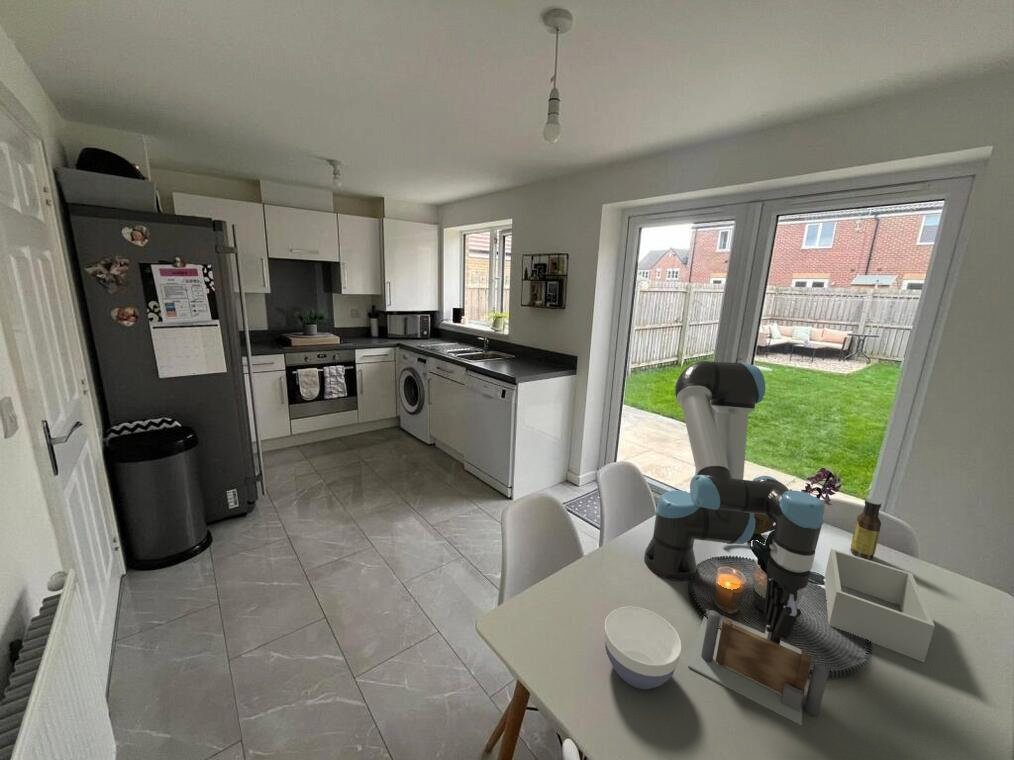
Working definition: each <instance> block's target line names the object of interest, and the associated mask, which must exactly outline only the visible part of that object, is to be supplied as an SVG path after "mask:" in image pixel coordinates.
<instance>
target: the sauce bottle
mask: <svg viewBox="0 0 1014 760" xmlns="http://www.w3.org/2000/svg"><path fill="white" fill-rule="evenodd" d="M881 508H882V503H881V502H880V501H878V500H876V499H873V498H865V500H864V507H863V510H862V512H861V513H860V514H859V515H858V516H857V518H856V521H855V525H854V530H853V535H852V538H851V544H850V549H849V551H850V552H851V553H852V555H853V556H857V557H860V558H863V559H867V560H870V561H872V560H873V559H874V555H875V554H876V551H877V545H878V542H879V536H880V532H881V526H882V523H881V519H880V518H879V514H880V513H879V512H880V509H881Z"/></svg>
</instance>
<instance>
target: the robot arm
mask: <svg viewBox="0 0 1014 760" xmlns="http://www.w3.org/2000/svg"><path fill="white" fill-rule="evenodd" d="M674 394H675V400H676V402H677V404H678V405H679V406H680V407H681V409H682V414H683V419H684V422H685V425H686V426H685V428H686V432H687V435H688V440H689V441H688V442H689V444H690V449H691V452H692V453H691V454H692V457H693V458H692V459H693V461H694V466H695V467H694V468H695V472H696V475H693V476H692V478H691V479H690V483H689V489H690V490H689V492H688V491H685V490H676V489H675V490H669V491H666V492H664V493H662V494H661V495H660V496H659V498H658V501H657V504H656V508H655V519H654V528H653V533H652V537H651V540H650V541H649V543H648V545H647V547H646V548H645V551H644V558H643V560H644V563H645V564H646V566H647V567H648V568H649V570H651V571H652V572H653V573H655V574H657V575H658V576H660V577H663V578H665V579H668V580H672V581H689V580H691V579H693V578H694V577H695V576H694V575H696V573H697V562H696V555H695V551H694V542H695V540H696V541H706V542H715V543H723V544H728V545H744V544H746V543H748V542H747V541H749V540H750V539H751V537H752V535H753V532H754V529H755V518H754V513H755V514H765V515H767V516H768V517H769V518H770V519H771V520H772V521H773V522H774V525H775V524H776V526H775V530H773V531H774V532H773V537H772V543H771V544H769V548H770V551H769V554H770V555H769V556H768V560H767V565H766V591H765V598H764V599H765V601H764V610H763V614H764V616H766V618H765V622H766V626H765V632H764V634H765V635H764V638H766V639H768V640H770V641H772V642H775V643H777V644H779V645H780V642H781V641H782V639H785V640H788V639H789V637H790V635H791V633H792V631H793V628H794V627H795V624H796V622H797V619H798V618H799V617H801V615H802V611H801V609H800V608H797V607H796V602H797V600H798V592H799V590H802V589H804V588H806V587H807V586H808V584H809V583H808V582H809V579H810V576H811V570H812V568H813V563H814V560H815V556H816V549H817V546H818V543H819V538H820V534H821V531H822V526H823V524H824V516H825V515H824V513H825V504H824V502H823V501H822V500H821V499H820V498H818V497H817V496H814V495H812V494H810V493H807V492H805V491H802V490H801V491H800V490H793V489H792V490H790V489H789V488H788V487H787V486H786V485H785V484H783V483H782V482H780V481H779V480H777V479H776V478H774V477H772V476H769V475H761V476H758V477H755V478H753V479H752V480H749V479H744V474H745V463H746V450H747V449H746V448H747V437H748V436H747V434H748V422H749V420H748V419H749V415H750V413H752V412H753V411H754V410H755V409H756V405H757V404H760V403H761V402H762V401H763V400H764V397H765V395H766V381H765V377H764V373H762V371H761V369H760V368H759V367H757V366H756V365H754V364H749V363H748V364H747V363H743V362H742V363H741V362H725V361H724V362H723V361H720V362H719V361H710V360H701V361H697V362H694V363H692V364H690V365H689V366H687V367H686V368H685V369H684V370H682V372H681V373H680V374H679V376H678V379H677V381H676V383H675V387H674ZM713 410H714V411H715V415H714V411H713ZM693 576H694V577H693ZM692 577H693V578H692ZM690 578H691V579H690Z"/></svg>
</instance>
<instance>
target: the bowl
mask: <svg viewBox="0 0 1014 760" xmlns="http://www.w3.org/2000/svg"><path fill="white" fill-rule="evenodd" d="M603 635H604V644H605V645H604V647H605V651H606V655H607V658H608V660H609V661H610V664H611V666H612V668H613V669H614V670H615V672H616V673H617V674H618V675H619V676H620V678H621V679H622V680H623V681H624V682H625V683H626V684H629V686H632V687H634V688H636V689H640V690H650V689H655V688H657V687H660V686H662V685H663V684H666V682H667V681H669V680H670V679H671V678H672V677H673V675H674V673H675V670H676V668H677V667H678V664H679V662H680V658H681V653H682V647H683V646H682V642H681V638H680V636H679V633H678V632H677V631H676V629H675V628H674V627H673V625H672V624H670V622H668V621H667V619H665V618H664V617H662V616H660V615H659V614H658V613H656V612H653V611H651V610H649V609H645V608H642V607H638V606H622V607H618V608H616V609H613V610H611V612H610V613H609V614H608V615H607V617H606V618H605V621H604V634H603Z"/></svg>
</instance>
